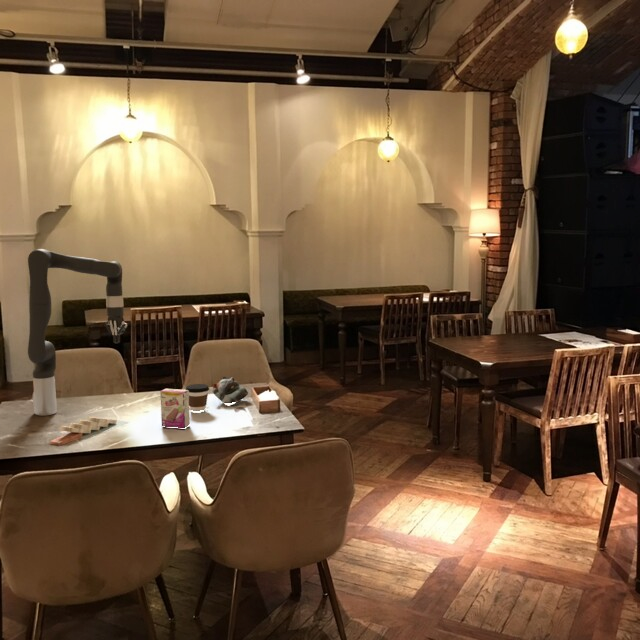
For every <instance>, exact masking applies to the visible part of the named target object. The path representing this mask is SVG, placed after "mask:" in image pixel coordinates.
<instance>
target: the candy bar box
mask: <svg viewBox="0 0 640 640" xmlns="http://www.w3.org/2000/svg"><path fill="white" fill-rule="evenodd" d="M160 410H161V411H160V412H161V413H160V415H161V416H160V417H161V427H162V426H165V427H178V428H185V427H187V426H188V425H189V424H190V423H191V422H190V421H191V420H190V406H189V390H185V389H176V388H164V389H162V390H160Z"/></svg>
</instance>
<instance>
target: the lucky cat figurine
mask: <svg viewBox="0 0 640 640" xmlns="http://www.w3.org/2000/svg"><path fill="white" fill-rule="evenodd" d="M212 385H213V387H212V394H213V395H214V396H215V397H216V398H218V400H220V401H221V402H222V403H223V402H224V403H232V402H238V403H239V402H240V401H241V400H242V399H243V400H244V398H245V397H247V396H248V395H249V394H250V393H249V392H248V390H247V388H246V387H244V386H241V385H240V384H239V383H238V381H236V380H235V378H234V377H232V376H231V377H230V378H228V377H227V376H226V377H225V376H223V377H222V379H220V381H218V383H216V382H215V383H213V384H212Z"/></svg>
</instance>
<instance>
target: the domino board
mask: <svg viewBox="0 0 640 640" xmlns="http://www.w3.org/2000/svg"><path fill="white" fill-rule="evenodd" d="M111 419H112V418H111ZM112 420H114V419H112ZM116 420H117V422H116V424H111V423H108V427H100V429H99V430H91V433H82V437H80V438H79V439H82V440H88V439H90V438H92V437H96V436H97V435H100V434H103V433H105V432H108V431H110V430H113V429H116V428H118V427H122V426H124V425H126V424H129V423H130V421H125V420H118V419H116Z"/></svg>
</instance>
